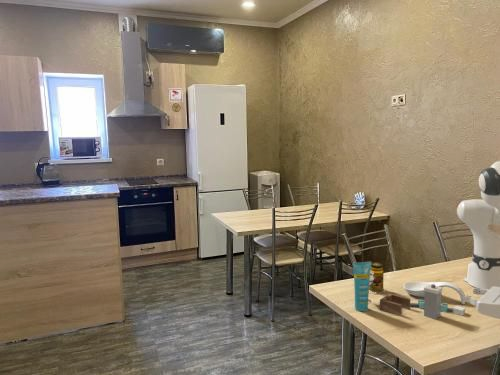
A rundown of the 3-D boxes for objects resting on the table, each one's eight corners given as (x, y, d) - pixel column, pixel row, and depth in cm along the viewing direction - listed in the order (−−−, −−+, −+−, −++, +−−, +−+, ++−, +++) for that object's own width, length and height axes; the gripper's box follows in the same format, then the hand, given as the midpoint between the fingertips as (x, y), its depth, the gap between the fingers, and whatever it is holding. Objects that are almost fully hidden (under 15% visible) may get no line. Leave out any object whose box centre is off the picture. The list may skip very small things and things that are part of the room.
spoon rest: (400, 296, 161) (400, 280, 160) (406, 287, 170) (406, 272, 170) (463, 308, 148) (464, 291, 147) (466, 298, 157) (467, 281, 157)
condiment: (375, 294, 163) (375, 267, 162) (362, 287, 171) (362, 262, 169) (388, 291, 166) (388, 265, 164) (374, 284, 174) (375, 259, 172)
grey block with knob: (428, 311, 145) (429, 281, 144) (441, 315, 142) (442, 284, 141) (423, 315, 142) (424, 285, 141) (436, 319, 139) (437, 288, 137)
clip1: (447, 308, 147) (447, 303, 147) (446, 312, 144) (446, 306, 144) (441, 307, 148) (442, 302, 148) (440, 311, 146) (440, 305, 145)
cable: (402, 302, 154) (402, 297, 154) (464, 311, 144) (465, 306, 144) (401, 306, 151) (401, 301, 150) (465, 316, 141) (465, 311, 141)
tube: (355, 312, 146) (356, 264, 144) (349, 307, 151) (350, 260, 148) (373, 310, 148) (373, 262, 145) (366, 305, 152) (367, 259, 150)
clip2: (423, 304, 151) (423, 299, 151) (425, 308, 148) (425, 303, 148) (417, 304, 152) (417, 299, 152) (419, 308, 148) (419, 303, 148)
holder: (390, 302, 154) (390, 293, 154) (410, 308, 148) (410, 298, 148) (379, 309, 148) (380, 299, 148) (400, 315, 142) (400, 305, 142)
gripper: (524, 287, 129) (478, 278, 138) (509, 305, 114) (460, 293, 124) (523, 305, 129) (478, 294, 139) (508, 325, 115) (459, 311, 125)
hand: (469, 294), depth 132 cm, fingers open, 8 cm apart
